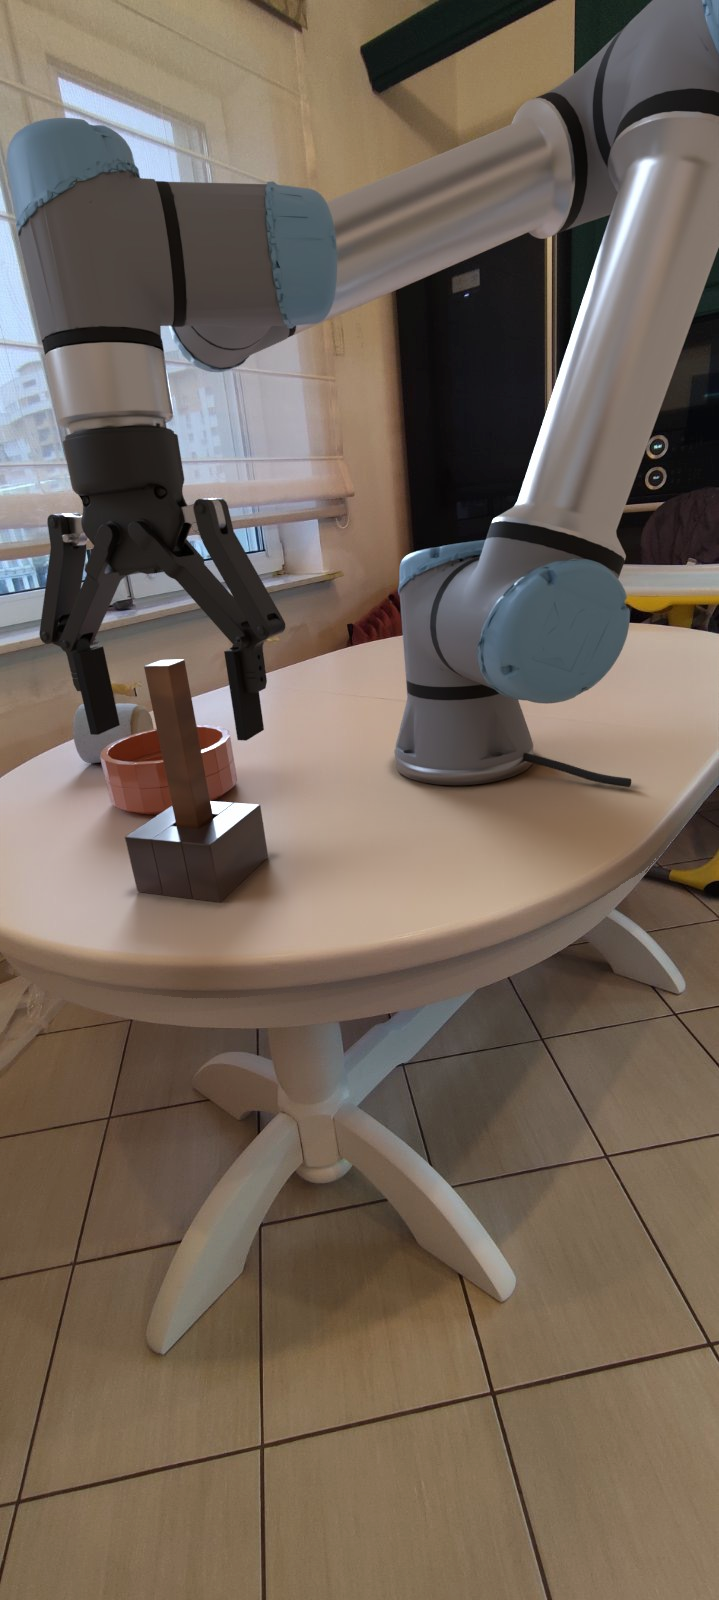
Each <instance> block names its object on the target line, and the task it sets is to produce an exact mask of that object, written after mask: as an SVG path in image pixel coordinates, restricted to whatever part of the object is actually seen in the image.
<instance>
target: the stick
mask: <svg viewBox="0 0 719 1600" xmlns="http://www.w3.org/2000/svg"><path fill="white" fill-rule="evenodd" d="M143 669H144V673H145V678H146V683H147V689H148V693H149V698H150V703H151V707H152V713H153V717H154V723H155V729H157V733H158V738H159V743H160V748H161V753H162V758H163V763H164V767H165V772H166V777H167V782H168V787H169V792H170V797H171V802H172V807H173V812H174V817H175V822H176V827H187V828H198V829H200V828H202V827H203V826H204V825H206V824H207V823H208V822H210V821H211V820H212V819H213V814H212V808H211V803H210V797H209V792H208V786H207V781H206V775H205V770H204V764H203V759H202V753H201V748H200V742H199V737H198V731H197V726H196V725H197V721H196V715H195V711H194V710H195V709H194V705H193V698H192V693H191V688H190V682H189V676H188V672H187V665H186V660H185V659H160V660H157V661H154V662H151V663H149V664H145V665H144V666H143Z"/></svg>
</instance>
